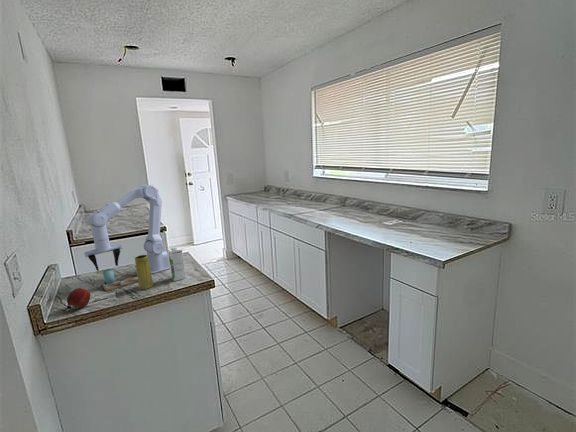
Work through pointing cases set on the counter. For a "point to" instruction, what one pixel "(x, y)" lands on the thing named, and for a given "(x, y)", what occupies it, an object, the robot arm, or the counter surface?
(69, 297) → the apple
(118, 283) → the brown tray
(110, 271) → the peg
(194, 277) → the counter surface
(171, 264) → the syrup box
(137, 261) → the vase
